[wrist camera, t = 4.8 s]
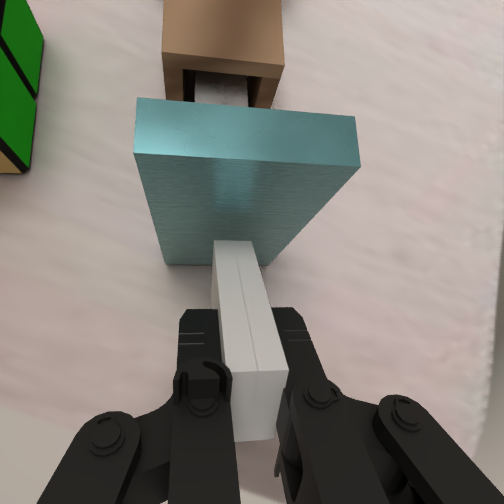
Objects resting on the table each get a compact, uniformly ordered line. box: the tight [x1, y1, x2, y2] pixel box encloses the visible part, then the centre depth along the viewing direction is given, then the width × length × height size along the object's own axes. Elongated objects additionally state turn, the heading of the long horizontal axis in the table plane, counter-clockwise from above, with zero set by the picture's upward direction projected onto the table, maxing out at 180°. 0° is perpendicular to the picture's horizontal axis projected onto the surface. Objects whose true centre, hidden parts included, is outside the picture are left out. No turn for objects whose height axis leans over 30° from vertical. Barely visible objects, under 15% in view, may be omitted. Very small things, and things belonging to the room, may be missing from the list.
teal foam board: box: [133, 70, 361, 265], centre depth 17 cm, size 6×16×12 cm, turn 2°
